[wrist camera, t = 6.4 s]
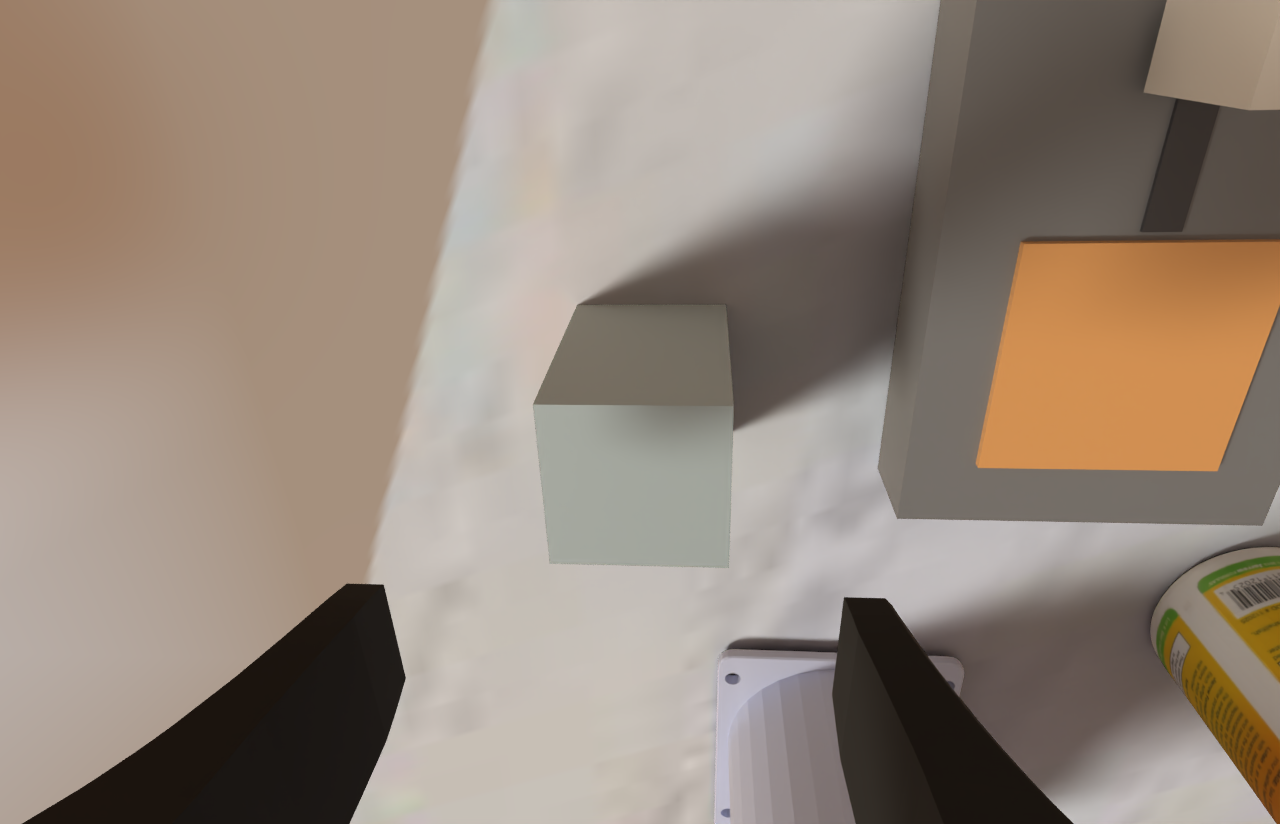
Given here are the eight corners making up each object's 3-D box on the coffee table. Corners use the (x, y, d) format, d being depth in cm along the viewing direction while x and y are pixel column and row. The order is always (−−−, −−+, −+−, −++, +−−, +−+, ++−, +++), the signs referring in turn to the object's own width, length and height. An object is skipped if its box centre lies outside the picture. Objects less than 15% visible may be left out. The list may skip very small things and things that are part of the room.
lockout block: (722, 435, 22) (728, 568, 17) (586, 434, 22) (549, 563, 17) (726, 304, 20) (733, 405, 15) (577, 304, 20) (533, 404, 15)
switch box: (1204, 473, 21) (1269, 532, 19) (878, 468, 22) (899, 525, 20) (1383, -16, 16) (1510, -23, 13) (940, -1, 17) (982, -5, 14)
